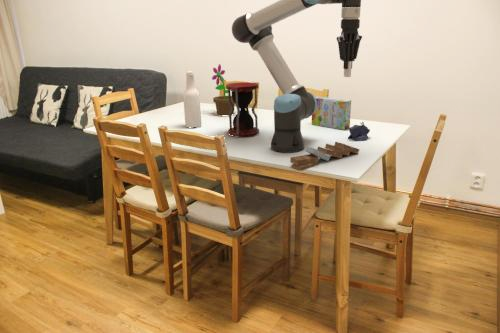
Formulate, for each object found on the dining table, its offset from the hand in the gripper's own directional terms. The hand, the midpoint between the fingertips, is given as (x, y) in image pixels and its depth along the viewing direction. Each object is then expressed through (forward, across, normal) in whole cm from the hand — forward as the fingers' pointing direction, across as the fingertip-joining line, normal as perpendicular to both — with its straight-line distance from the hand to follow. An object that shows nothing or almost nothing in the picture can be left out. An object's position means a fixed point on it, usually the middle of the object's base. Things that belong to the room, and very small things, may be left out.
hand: (347, 76), depth 189 cm
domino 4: (+30, -13, -9) cm, 34 cm away
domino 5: (+30, -8, -9) cm, 32 cm away
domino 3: (+31, -26, -9) cm, 42 cm away
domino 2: (+29, -26, -9) cm, 40 cm away
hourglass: (+32, -21, +49) cm, 63 cm away
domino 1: (+30, -20, -9) cm, 37 cm away
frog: (+32, +15, +5) cm, 35 cm away
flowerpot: (+33, -4, +96) cm, 101 cm away
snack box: (+32, +22, +31) cm, 50 cm away
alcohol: (+33, -34, +80) cm, 93 cm away
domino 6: (+30, -3, -9) cm, 32 cm away
